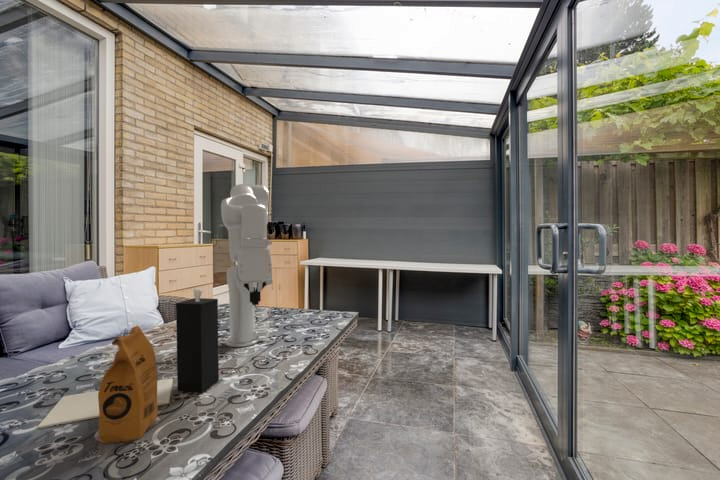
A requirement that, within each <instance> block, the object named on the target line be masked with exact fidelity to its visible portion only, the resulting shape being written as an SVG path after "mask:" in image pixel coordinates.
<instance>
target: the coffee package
mask: <svg viewBox="0 0 720 480" xmlns="http://www.w3.org/2000/svg"><path fill="white" fill-rule="evenodd" d="M111 345H112V346H117V347H118V350H117V351H116V353H115V357H114V358H113V362H112V364H111V365H110V367H108V369H107V370H106V372H105V373H104V375H103V377H102V378H101V382H100V385H99V389H98V391H99V393H98V402H99V417H98V421H99V422H98V439H99V440H100V441H101V443H102V444H109V443H121V442H131V441H136V440H139V439H141V438H142V437H143V435H144V434H145V433H146V431H147V429H148V428H149V427H152V426H153V425H154V424H155V423H156V419H157V417H158V414H159V411H158V406H157V381H158V370H157V369H158V368H157V360H156V354H155V351H154V348H153V346H152V344H151V341H149V340H148V338H147V336H146V335H145V333H144V332H143V331H142V330H141V327H140V326H139V325H136V326H134V327H132V328H131V329H130V331H129V334H126V335H124V336H123V335H122V336H120V337H116V338H115V339H114V340H113V341H112V342H111Z"/></svg>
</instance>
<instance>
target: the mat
mask: <svg viewBox="0 0 720 480" xmlns="http://www.w3.org/2000/svg"><path fill="white" fill-rule="evenodd" d="M173 382H174V378H167V379H160V380H157V407H159V406H165V405H169V404H170V399H171V394H172V389H173V388H172V387H173ZM98 393H99V390H94V391H87V392H82V393H76V394H69V395H63V396H62V397H61V398H60V399H59V401H58V402H57V403H56V404H55V405H54V406H53V408H52V409H51V410H50V411H49V413H47V415H46V416H45V417H44V418H43V419H42V421H41V422H40V423H39V424H38V425H37V430H40V429H44V428H49V427H55V426H54V425H56V426H60V425H59V424H61V425H66V424H70V423H76V422H81V421H86V420H91V419H97V418H99V402H98ZM39 428H40V429H39Z"/></svg>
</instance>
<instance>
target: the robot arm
mask: <svg viewBox="0 0 720 480" xmlns="http://www.w3.org/2000/svg"><path fill="white" fill-rule="evenodd" d="M229 193H230V194H229V195H230V197H226V198H224V199H223V200H222V201H221V204H220V210H221V211H220V212H221V213H220V214H221V220H222V223H223V225H224V227H225V228H226V229H227V233H228V251H229V258H230V261H232V262H234V263H236V264H235V265H232V266H229V267H228V269H227V270H226V281H227V287H228V299H229V301H228V302H229V304H228V305H229V337H228V338H227V339H226V340H225V346H227V347H230V348H243V347H249V346H253V345H255V344H257V343H259V341H260V340H259V339H260V338H259V337H265V336H267V332H268V331H267V330H262V329H261V330H256V328H255V323H256V322H255V306H259V303H260V302H261V301H262V300H261V299H262V298H261V292H262V291H263V289H264V288H265V287H268V286H270V285H272V284H273V283H274V281H273V266H272V264H273V263H272V257H271V252H270V246H272V245H273V242H272V240H269V239H268V226H267V225H268V224H269V219H270V218H269V212H268V211H267V209H268V206H269V203H270V192H269V190H268V188H267V187H266V186H264V185H262V184H245V183H242V184H236V185H234V186H233V187H232V188H231V190H230V192H229ZM254 288H255V289H254Z"/></svg>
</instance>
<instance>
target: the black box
mask: <svg viewBox="0 0 720 480" xmlns="http://www.w3.org/2000/svg"><path fill="white" fill-rule="evenodd" d="M192 290H193V291H192V293H193V296H194V298H190V299H188V300H187V299H186V300H183V301H180V302H176V303H175V311H176V312H175V313H176V314H175V315H176V367H177V368H176V369H177V370H176V373H177V374H176V375H177V377H176V378H177V385H176V386H177V391H181V392H189V393H190V392H192V393H201V394H202V393H203V392H206V391H207V390H208V389H209V388H211V387H213V385H215V384H217V383H218V382H219V381H220V380H219V379H220V377H219V375H220V373H219V372H220V371H219V370H220V368H219V365H220V364H219V316H218V314H219V308H218V307H219V302H218V301H219V299H218V298H205V297H203V298H201V296H202V293H203V292H204V291H203V290H200V289H192Z"/></svg>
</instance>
